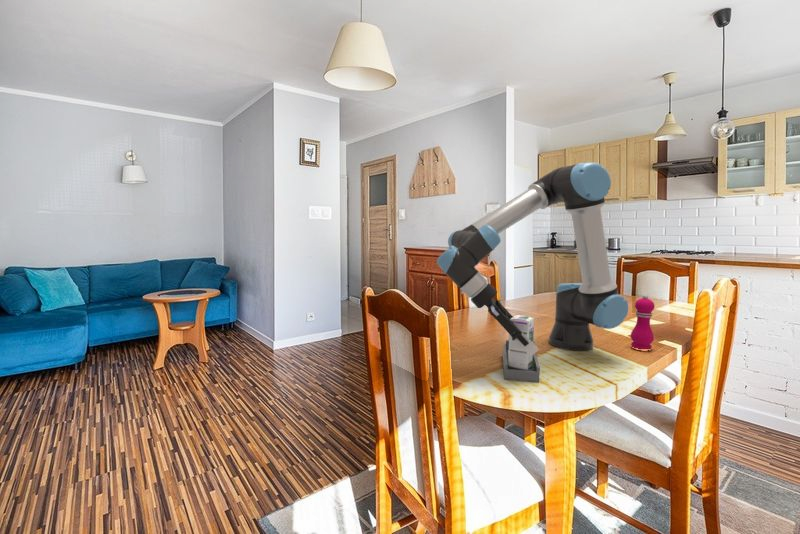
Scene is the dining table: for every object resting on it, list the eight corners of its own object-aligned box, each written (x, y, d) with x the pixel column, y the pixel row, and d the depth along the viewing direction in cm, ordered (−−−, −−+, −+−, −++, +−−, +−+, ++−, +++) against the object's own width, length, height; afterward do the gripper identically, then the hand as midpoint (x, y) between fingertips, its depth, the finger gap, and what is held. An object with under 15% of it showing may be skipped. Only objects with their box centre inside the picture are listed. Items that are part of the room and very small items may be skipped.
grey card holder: (502, 356, 137) (503, 339, 136) (532, 359, 134) (533, 342, 134) (504, 379, 117) (504, 359, 117) (539, 382, 115) (540, 362, 114)
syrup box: (527, 370, 117) (530, 320, 115) (507, 366, 120) (509, 317, 118) (532, 364, 121) (535, 316, 120) (512, 360, 124) (515, 314, 123)
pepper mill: (651, 347, 149) (656, 293, 147) (654, 353, 142) (659, 296, 140) (628, 344, 152) (632, 291, 150) (630, 350, 145) (634, 295, 143)
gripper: (471, 293, 131) (521, 346, 130) (467, 305, 112) (526, 368, 110) (489, 277, 130) (540, 331, 128) (488, 287, 110) (548, 350, 109)
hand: (533, 348), depth 119 cm, fingers closed on syrup box, 7 cm apart
